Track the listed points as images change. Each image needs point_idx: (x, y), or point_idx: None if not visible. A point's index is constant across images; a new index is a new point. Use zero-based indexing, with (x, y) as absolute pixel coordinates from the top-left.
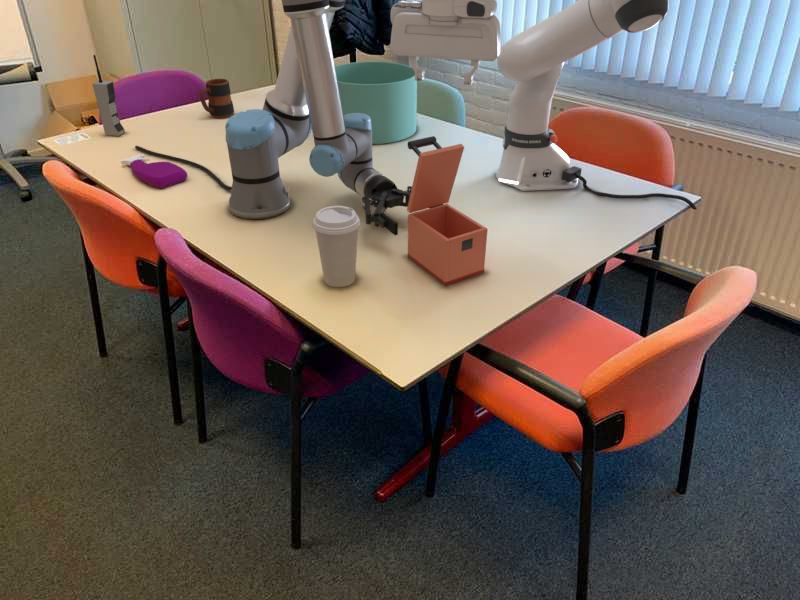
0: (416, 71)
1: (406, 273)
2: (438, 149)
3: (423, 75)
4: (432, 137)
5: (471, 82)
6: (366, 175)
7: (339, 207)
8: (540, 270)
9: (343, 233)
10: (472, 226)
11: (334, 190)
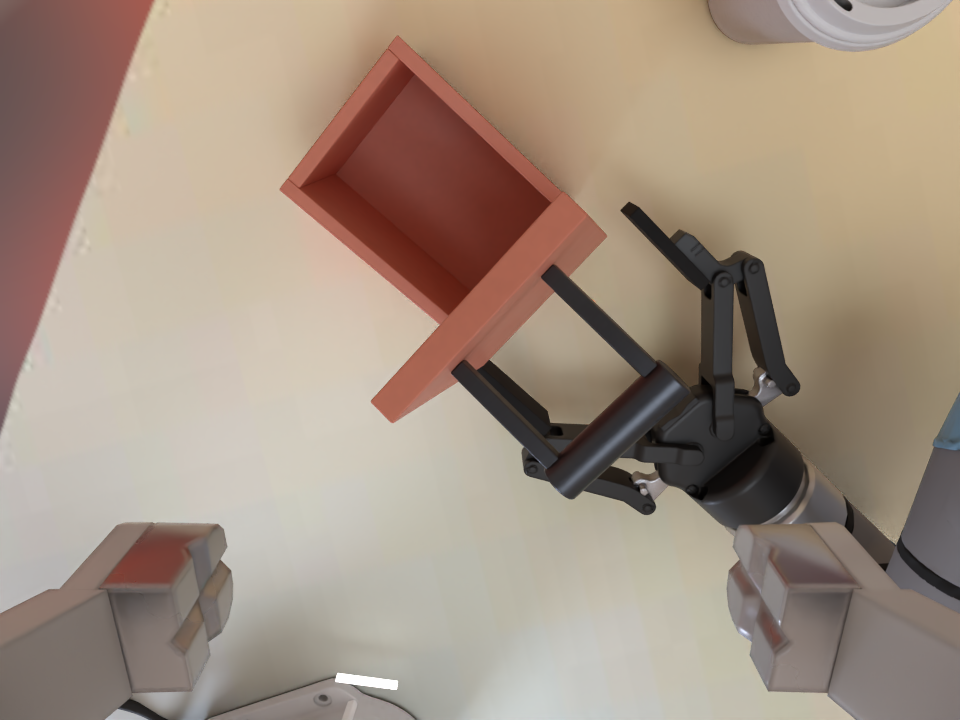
0: (878, 589)
1: (553, 99)
2: (493, 306)
3: (752, 623)
4: (567, 476)
5: (112, 539)
6: (818, 514)
7: (896, 7)
8: (167, 237)
9: None
10: (349, 225)
11: None
